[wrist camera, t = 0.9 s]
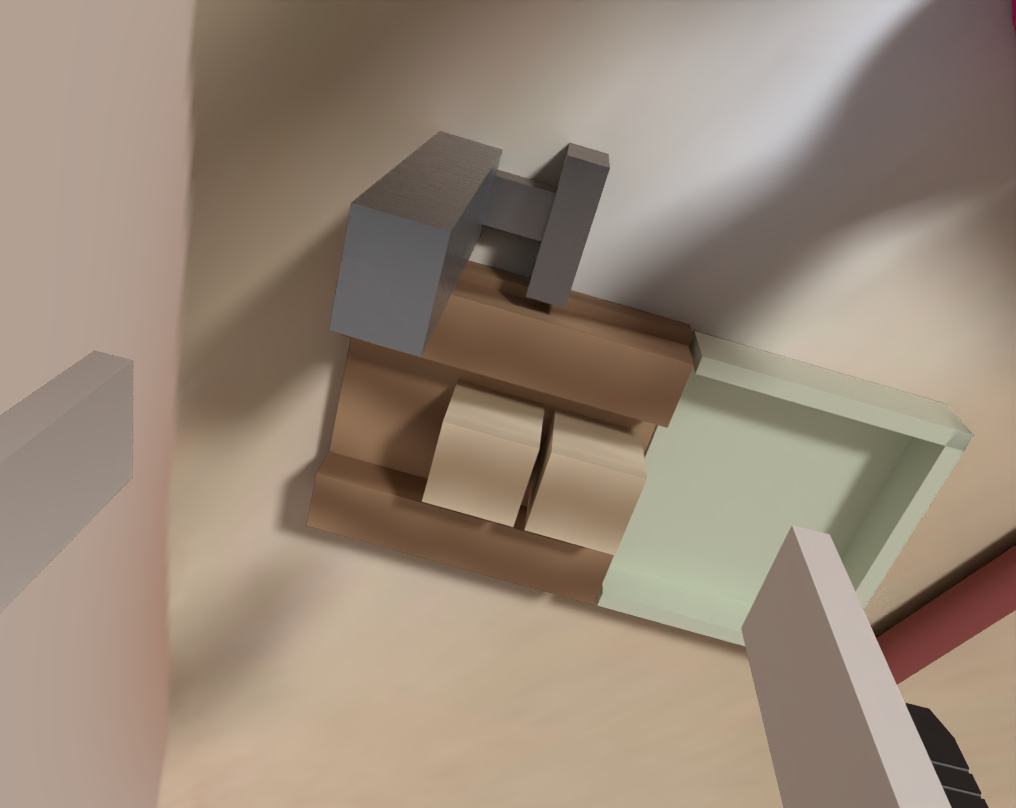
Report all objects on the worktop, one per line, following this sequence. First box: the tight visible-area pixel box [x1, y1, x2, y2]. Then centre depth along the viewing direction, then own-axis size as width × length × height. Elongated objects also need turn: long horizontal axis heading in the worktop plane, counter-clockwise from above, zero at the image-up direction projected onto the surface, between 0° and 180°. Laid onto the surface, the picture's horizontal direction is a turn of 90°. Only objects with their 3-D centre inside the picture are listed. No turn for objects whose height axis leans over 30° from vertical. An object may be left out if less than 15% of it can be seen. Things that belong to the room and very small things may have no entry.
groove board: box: [307, 261, 694, 605], centre depth 36 cm, size 14×14×3 cm
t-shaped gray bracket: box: [329, 132, 610, 356], centre depth 27 cm, size 6×7×13 cm
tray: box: [597, 331, 974, 646], centre depth 36 cm, size 14×12×3 cm
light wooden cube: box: [525, 407, 647, 555], centre depth 34 cm, size 4×4×4 cm
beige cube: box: [422, 380, 545, 527], centre depth 34 cm, size 4×4×4 cm
